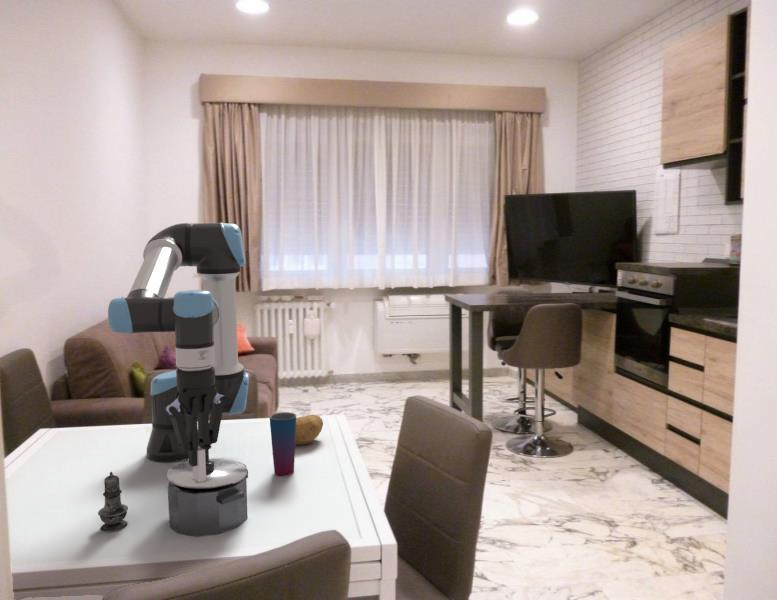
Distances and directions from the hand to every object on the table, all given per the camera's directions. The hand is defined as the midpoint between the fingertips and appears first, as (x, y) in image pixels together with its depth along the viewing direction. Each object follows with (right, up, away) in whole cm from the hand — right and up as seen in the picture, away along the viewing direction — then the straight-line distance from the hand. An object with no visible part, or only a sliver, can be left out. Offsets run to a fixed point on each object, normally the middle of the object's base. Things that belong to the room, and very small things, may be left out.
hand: (199, 479), depth 127 cm
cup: (+12, -8, +33) cm, 36 cm away
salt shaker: (-19, -11, +3) cm, 22 cm away
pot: (0, -10, +7) cm, 12 cm away
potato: (+14, -6, +56) cm, 58 cm away
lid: (0, -1, +6) cm, 6 cm away
